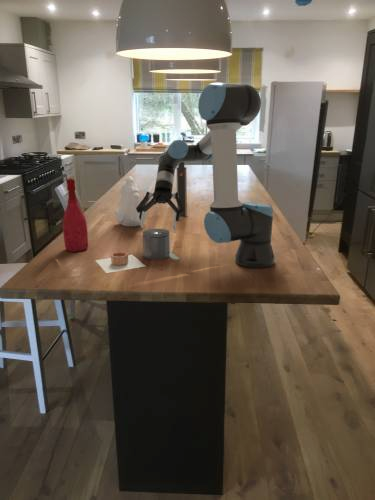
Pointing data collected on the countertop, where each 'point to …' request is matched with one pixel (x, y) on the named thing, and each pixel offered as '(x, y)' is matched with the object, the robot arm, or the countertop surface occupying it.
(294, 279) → the countertop surface
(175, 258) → the mat
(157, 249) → the grey ribbed cylinder
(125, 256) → the bowl
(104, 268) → the board
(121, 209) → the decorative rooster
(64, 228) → the wine bottle
